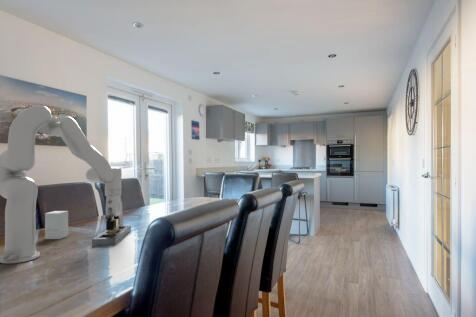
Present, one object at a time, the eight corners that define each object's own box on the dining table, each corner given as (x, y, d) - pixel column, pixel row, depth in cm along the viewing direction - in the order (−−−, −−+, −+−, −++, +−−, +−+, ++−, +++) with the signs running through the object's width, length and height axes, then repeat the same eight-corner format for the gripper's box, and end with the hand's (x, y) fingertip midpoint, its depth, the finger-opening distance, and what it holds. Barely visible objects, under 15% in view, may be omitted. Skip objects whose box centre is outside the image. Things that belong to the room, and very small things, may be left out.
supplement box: (68, 235, 151) (69, 210, 151) (58, 239, 144) (58, 213, 144) (55, 235, 152) (55, 210, 152) (44, 239, 144) (44, 213, 144)
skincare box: (123, 229, 165) (123, 202, 165) (112, 231, 161) (112, 203, 161) (117, 227, 171) (117, 200, 171) (106, 228, 167) (106, 201, 167)
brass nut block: (116, 238, 144) (116, 220, 145) (107, 239, 144) (107, 220, 144) (118, 236, 148) (118, 218, 149) (110, 237, 148) (110, 218, 148)
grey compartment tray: (115, 245, 133) (115, 238, 133) (91, 246, 132) (91, 239, 132) (130, 231, 161) (130, 225, 161) (111, 231, 160) (111, 225, 160)
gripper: (116, 194, 138) (115, 231, 138) (125, 190, 156) (125, 223, 155) (99, 194, 138) (98, 231, 137) (110, 191, 155) (110, 224, 154)
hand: (113, 227), depth 146 cm, fingers open, 9 cm apart
